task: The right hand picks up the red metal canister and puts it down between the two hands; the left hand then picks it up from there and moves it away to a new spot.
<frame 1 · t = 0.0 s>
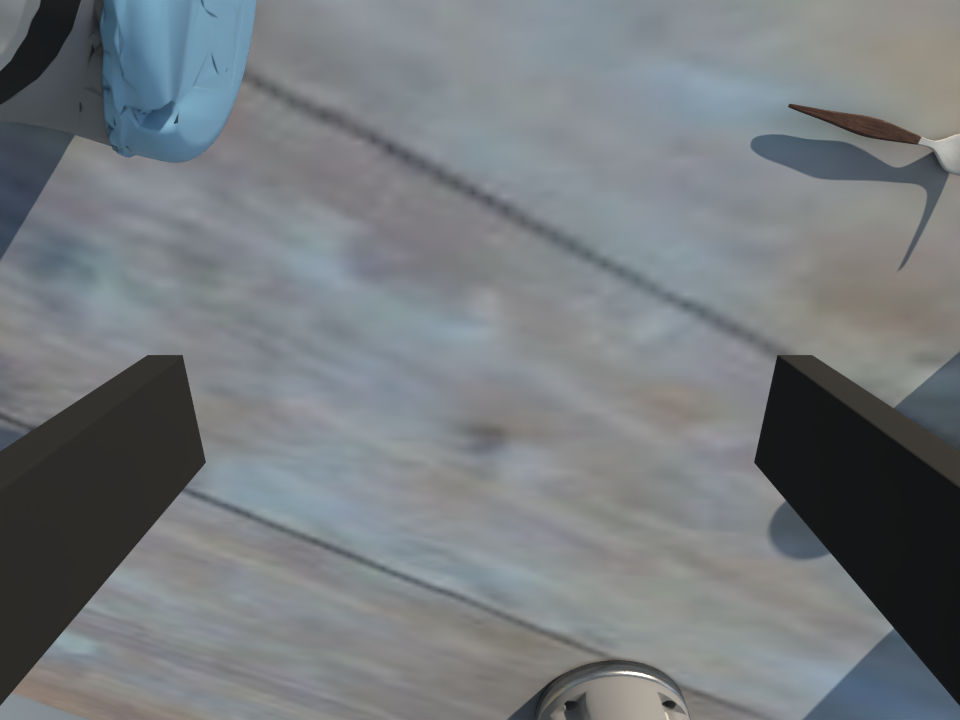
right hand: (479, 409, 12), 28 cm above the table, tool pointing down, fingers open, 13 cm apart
fork: (895, 136, 36), on the table
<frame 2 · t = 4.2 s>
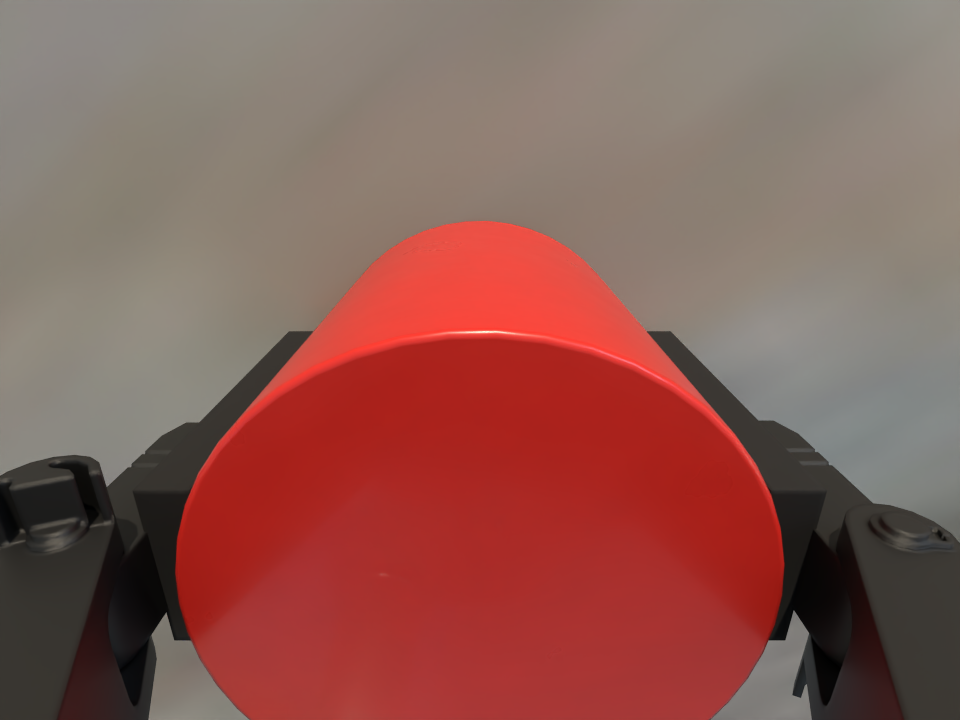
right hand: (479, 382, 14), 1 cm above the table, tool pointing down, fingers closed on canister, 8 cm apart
canister: (479, 370, 15), on the table, touching right hand
when the right hand's fingers open (3 cm above the table, at t = 14.9 s): canister drops 2 cm, on the table.
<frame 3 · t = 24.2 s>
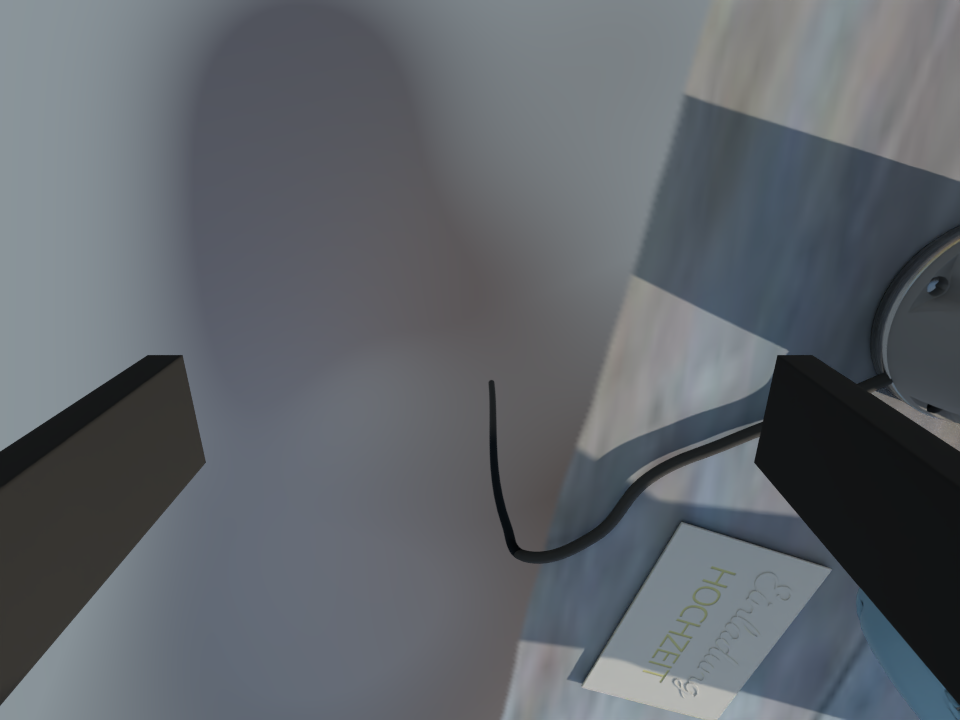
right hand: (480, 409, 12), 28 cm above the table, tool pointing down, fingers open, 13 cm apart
invitation card: (698, 628, 52), on the table
when the left hand's fingers open (3 cm above the table, at t = 29.5 s): canister drops 2 cm, on the table.
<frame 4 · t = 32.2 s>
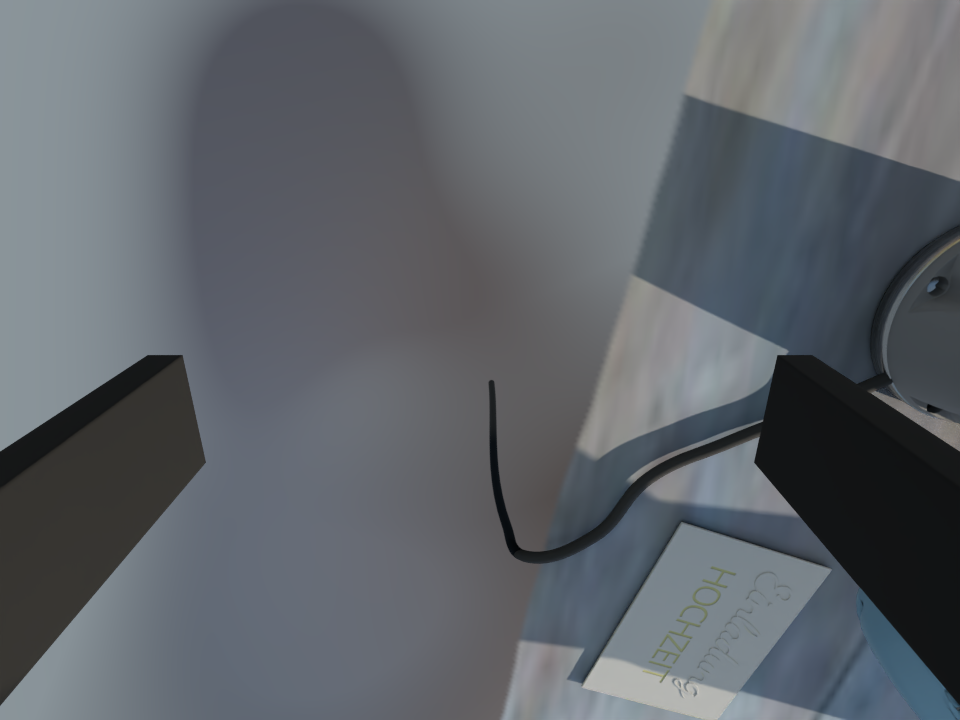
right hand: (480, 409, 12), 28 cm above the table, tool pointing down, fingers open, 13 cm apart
invitation card: (698, 628, 52), on the table
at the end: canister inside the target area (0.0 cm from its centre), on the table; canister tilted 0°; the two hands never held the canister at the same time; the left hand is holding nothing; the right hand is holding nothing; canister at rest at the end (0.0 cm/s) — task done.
